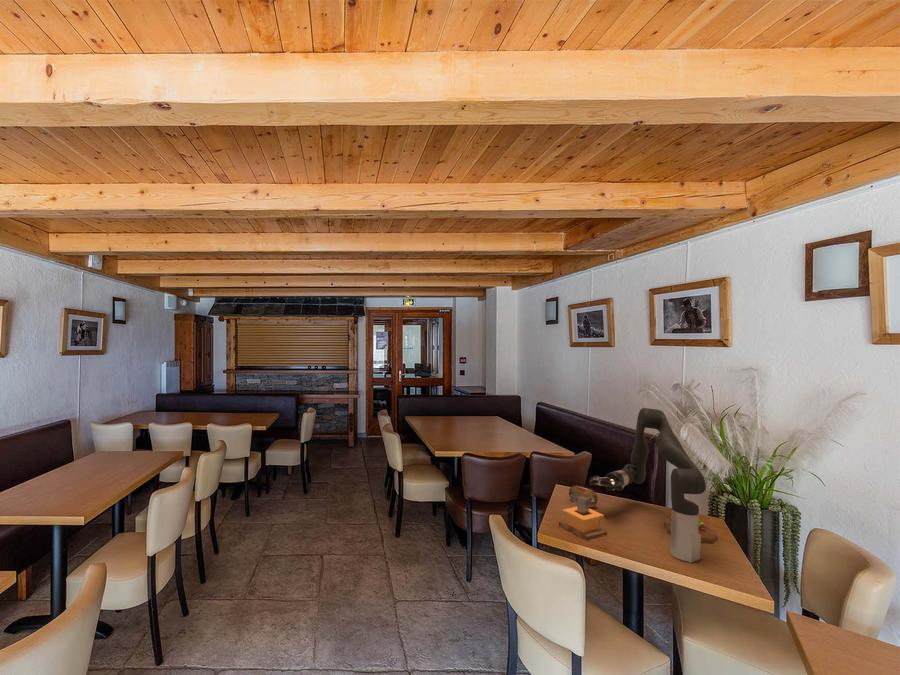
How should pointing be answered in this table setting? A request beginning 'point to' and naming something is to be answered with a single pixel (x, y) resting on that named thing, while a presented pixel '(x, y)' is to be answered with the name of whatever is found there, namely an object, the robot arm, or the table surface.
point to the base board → (587, 534)
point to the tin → (581, 491)
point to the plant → (705, 531)
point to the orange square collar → (583, 519)
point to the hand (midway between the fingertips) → (598, 486)
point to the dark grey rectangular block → (583, 506)
